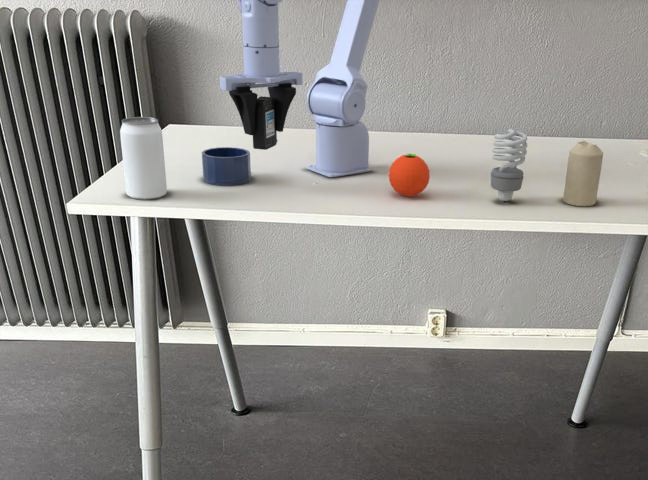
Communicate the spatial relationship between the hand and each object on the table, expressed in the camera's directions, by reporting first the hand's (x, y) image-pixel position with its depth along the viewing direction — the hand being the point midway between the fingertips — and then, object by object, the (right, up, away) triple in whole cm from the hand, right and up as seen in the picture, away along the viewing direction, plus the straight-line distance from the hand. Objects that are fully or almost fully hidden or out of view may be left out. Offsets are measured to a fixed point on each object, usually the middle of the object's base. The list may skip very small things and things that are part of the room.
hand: (263, 132), depth 139 cm
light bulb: (+40, -12, +1) cm, 42 cm away
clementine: (+24, -10, +3) cm, 26 cm away
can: (-19, -11, -2) cm, 22 cm away
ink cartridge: (0, -2, +1) cm, 3 cm away
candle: (+53, -11, +3) cm, 55 cm away
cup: (-8, -6, +8) cm, 13 cm away
